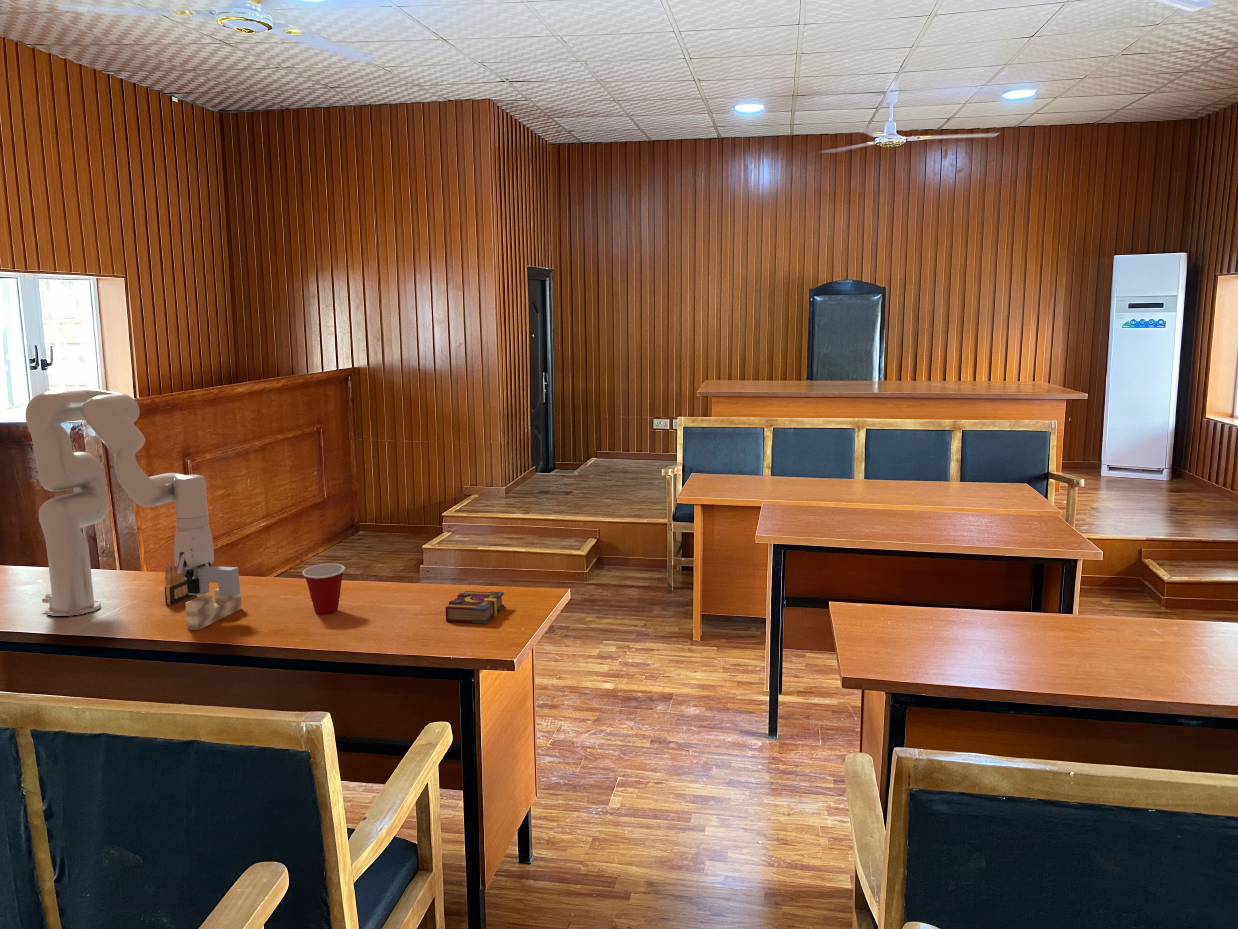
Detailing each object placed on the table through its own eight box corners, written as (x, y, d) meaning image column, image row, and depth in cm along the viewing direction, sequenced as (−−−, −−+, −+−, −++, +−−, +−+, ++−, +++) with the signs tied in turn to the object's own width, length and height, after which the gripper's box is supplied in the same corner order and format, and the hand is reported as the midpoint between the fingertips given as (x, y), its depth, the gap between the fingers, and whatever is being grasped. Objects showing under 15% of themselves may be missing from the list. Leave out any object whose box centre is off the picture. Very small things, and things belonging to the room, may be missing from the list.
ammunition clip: (171, 605, 241) (167, 563, 239) (165, 605, 241) (161, 563, 240) (195, 594, 252) (192, 553, 250) (190, 594, 252) (186, 553, 250)
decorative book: (444, 623, 224) (444, 604, 224) (466, 604, 240) (465, 587, 239) (486, 625, 222) (486, 606, 222) (506, 606, 238) (505, 589, 237)
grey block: (188, 594, 228) (186, 568, 227) (196, 591, 231) (193, 565, 230) (233, 596, 225) (231, 570, 224) (240, 593, 228) (238, 567, 227)
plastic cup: (298, 618, 228) (295, 574, 227) (313, 606, 239) (311, 563, 237) (339, 618, 228) (336, 573, 226) (352, 605, 239) (350, 563, 237)
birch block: (198, 630, 220) (196, 603, 219) (187, 629, 220) (185, 602, 219) (241, 608, 237) (239, 583, 236) (231, 608, 238) (230, 583, 237)
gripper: (200, 516, 235) (206, 582, 237) (157, 529, 219) (164, 599, 221) (225, 516, 233) (230, 583, 236) (184, 529, 217) (190, 601, 220)
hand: (198, 590), depth 229 cm, fingers closed on grey block, 3 cm apart
